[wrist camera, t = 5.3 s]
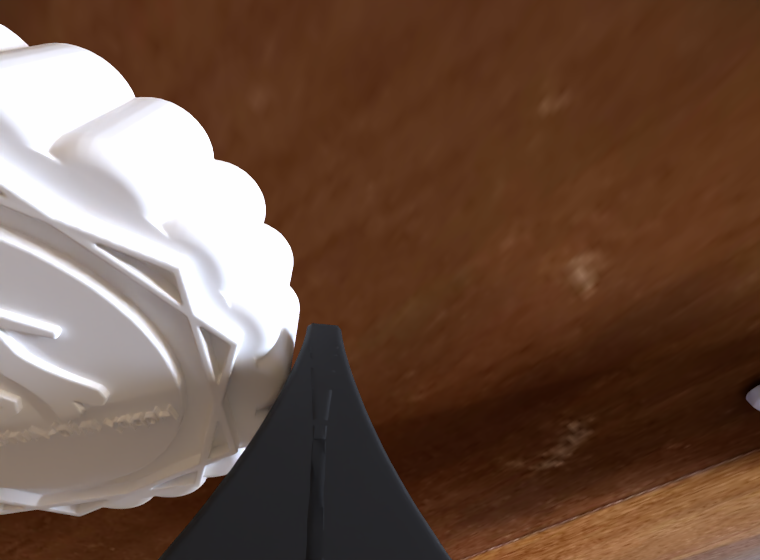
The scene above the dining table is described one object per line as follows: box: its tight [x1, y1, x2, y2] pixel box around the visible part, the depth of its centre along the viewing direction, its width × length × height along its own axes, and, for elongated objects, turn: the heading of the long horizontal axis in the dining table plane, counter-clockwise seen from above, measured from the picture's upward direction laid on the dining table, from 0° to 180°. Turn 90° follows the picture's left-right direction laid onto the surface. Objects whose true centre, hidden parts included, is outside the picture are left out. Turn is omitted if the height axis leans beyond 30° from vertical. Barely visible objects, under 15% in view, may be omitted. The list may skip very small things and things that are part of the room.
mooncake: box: [0, 24, 300, 517], centre depth 9 cm, size 12×12×4 cm
